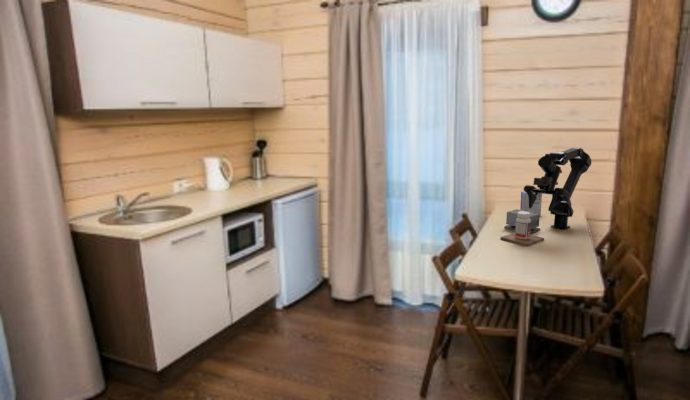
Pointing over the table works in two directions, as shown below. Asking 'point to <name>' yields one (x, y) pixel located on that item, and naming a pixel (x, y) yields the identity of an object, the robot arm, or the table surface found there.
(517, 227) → the pill bottle
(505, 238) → the plate
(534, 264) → the table surface
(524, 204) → the ink cartridge box
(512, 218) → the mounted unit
